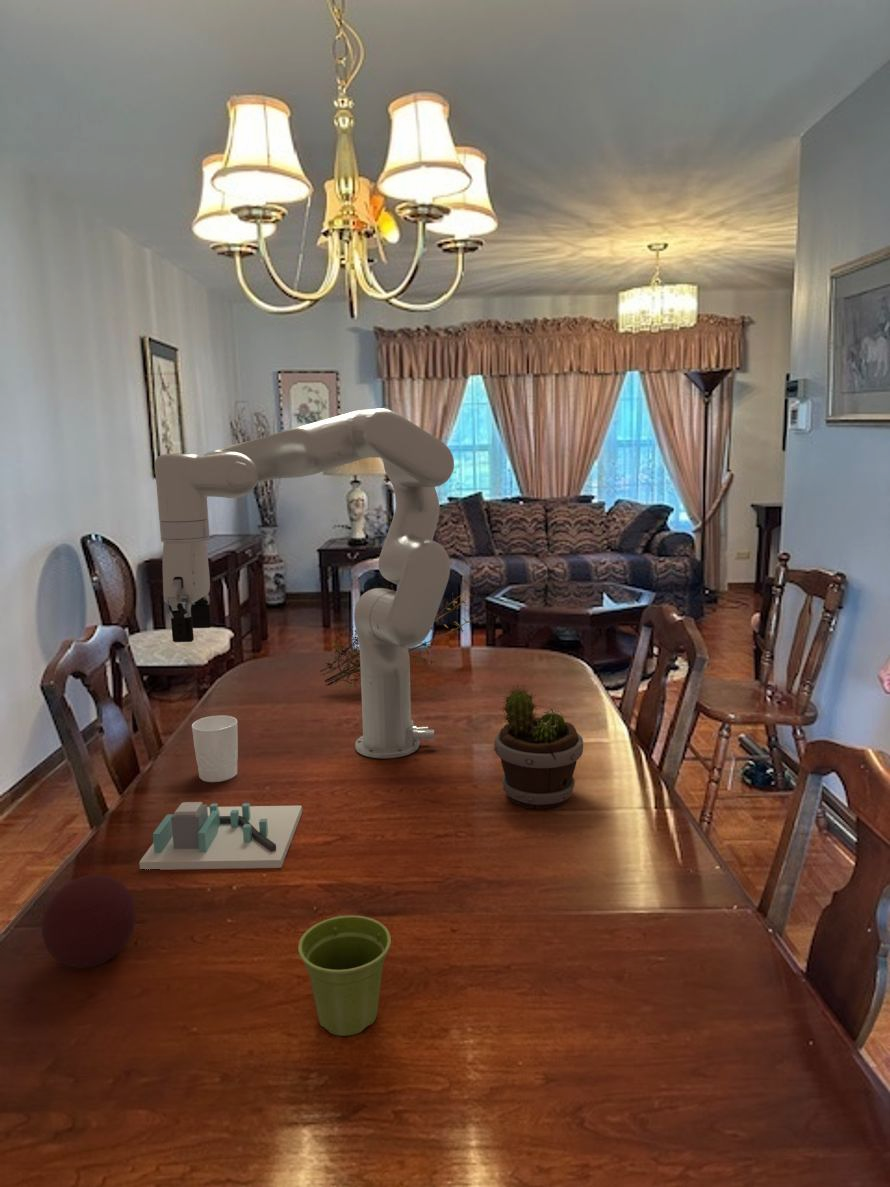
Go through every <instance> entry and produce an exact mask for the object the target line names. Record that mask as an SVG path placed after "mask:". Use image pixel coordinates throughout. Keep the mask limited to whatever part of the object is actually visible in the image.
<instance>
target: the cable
mask: <svg viewBox="0 0 890 1187" xmlns="http://www.w3.org/2000/svg"><path fill="white" fill-rule="evenodd" d="M220 824H231V817H230V816H220ZM239 824H240V825H241V826H242V827H243V826H244V824H250V823H249V822H248V821H247V820H246V819H245V818H244V817H241V816H239ZM251 830H252V838H253V839H255V840H256V841H257V842H259V843H260V844H261V845H263V846H264V847H265V848H266V849H268V850H269V851H270V852H273V851H276V844H275V843H273V842H272V841H270V840H269V839H268V838H266V837H265V836H264V835H262V834H261V833H260V832H258V831H257V830H256V829H255V828H254V827H253V826H252V825H251Z"/></svg>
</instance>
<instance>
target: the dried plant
mask: <svg viewBox="0 0 890 1187" xmlns="http://www.w3.org/2000/svg"><path fill="white" fill-rule="evenodd" d="M467 581H468V580H465V583H466V584H465V585H468V582H467ZM390 587H391V590H393V591H394V587H395V586H394V585H393V584H390ZM465 587H466V586H464V588H463V586H462V589H461V588H459V590H460V591H461V593H460V599H459V601H460V603H458V601H457V599H458V598H459V596H457V597H456V598H455V597H453V596H454V593H451V594H452V595H451V596H452V601H451V602H450V603H449V601H445V602H444V599H443V598H442V600H441V602H442V603H443V604H444V603H445V604H444V605H445V606H444V608H443V609H442V610H441V611H440V612H439V613H437V615H436V618H435V620H434V622H437V620H439V619H441V618H442V617H444V616H445V615H446V614H449V613H450V612H452V611H453V610H455V609H456V610H459V609H460V605H461V604H462V605H464V606H467V604H466V602H465V601H466V600H467V599H468V598H469V597H470V598H471V599H473V598H474V596H475V595H477V596H479V594H478V593H476V594H472V593H470V592H469V591H467V593H468V596H467V597H466V598H465V599H464V598H463V596H462V595H464V591H465V590H464V589H465ZM450 604H452V605H453V608H452V609H451V608H450V607H449V606H450ZM456 604H458V605H456ZM445 609H446V610H447V612H445V613H444V614H442V615H441V616H439V615H440V614H441V613H442V612H443V611H444V610H445ZM456 614H457V615H459V612H458V611H456ZM438 616H439V617H438ZM472 617H473V618H474V619H475V620H478V618H476V617H475V616H472ZM461 619H462V620H464V623H463V624H462V623H461V624H459V623H458V622H457V621H453V625H455V626H458V627H456V628H451V629H450V630H449V631H447V632H446V633H443V634H441V635H440V636H437V637H435V638H432V639H431V640H428V641H426V640H424V641H423V642H421V643H420V644H419V645H417V646H415V647H412V648H410V649H408V652H411V651H414V650H416V649H419V648H420V647H423V648H424V649H426V647H427V648H429V649H432V647H431V646H430V645H434V646H435V645H436V642H435V640H436V639H437V640H438V639H439V638H441V637H443V636H445V635H447V634H450V633H453V635H454V639H456V637H458V635H459V634H458V629H460V631H461V633H462V634H463V633H464V631H465V630H463V626H464V625H465V624H468V623H472V621H473V619H470V620H466V618H463V617H461ZM443 626H444V627H445V628H447V629H449V626H447V624H443ZM349 629H350V631H351V633H350V634H351V636H350V637H349V635H347V640H348V641H347V642H346V643H345V644H344V645H343V644H342V642H341V640H342V639H341V638H340V639H339V644H340V647H341V648H340V647H339V646H337V645H335V644H334V645H333V649H334V652H333V654H335V657H334V661H333V662H332V663H331V662H325V664H326V668H323V669H321V670H320V671H319V672H320V673H321V672H323V671H325V670H327V669H329V671H327V672H325V673H321V676H324V675H326V674H328V673H333V672H335V671H336V670H339V671H340V672H338V673H336V674H333V675H332V676H331V677H328V678H326V679H325V680H324V681H323V682H324V683H326V684H325V686H331V685H333V684H337V683H338V681H340V682H343V683H342V685H348V688H347V689H348V690H350V689H351V687H352V684H353V685H354V687H355V688H357V685H356V683H361V674H359V672H361V666H360V660H359V659H360V650H359V643H358V637H357V633H356V629H355V630H354V625H351V627H349ZM433 629H434V628H433V626H432V628H431V630H432V631H433ZM431 630H430V631H431ZM353 632H354V633H355V634H354V633H353ZM353 635H354V636H353ZM455 636H456V637H455ZM351 638H353V639H351ZM432 641H433V642H432ZM351 642H352V643H351ZM430 642H432V643H430ZM348 643H349V646H346V645H347V644H348ZM355 645H356V647H355ZM357 650H358V651H357ZM426 652H427V654H428V655H430V653H429V652H428V650H427V649H426ZM354 653H355V654H354ZM343 656H344V657H346V658H345V660H344V659H342V657H343ZM409 657H411V655H410V654H409ZM412 657H413V658H414V662H415V663H419V664H420V660H419V659H421V663H422V662H423V663H424V665H425V664H427V662H430V665H431V666H433V663H437V664H438V661H437V662H436V661H435V660H428V659H425V658H422V657H419V656H416V655H415V656H414V655H412ZM358 658H359V659H358ZM355 659H356V660H355ZM354 660H355V662H353V661H354ZM426 661H427V662H426ZM340 662H341V664H340ZM335 663H337V666H335V667H333V665H334V664H335ZM345 664H346V665H345ZM344 665H345V666H344ZM351 665H353V666H351ZM342 666H344V668H343V670H342V668H341V667H342ZM439 666H442V663H441V662H439ZM355 673H356V674H357V675H356V674H355ZM410 673H412V671H411V670H410ZM414 673H416V672H414V671H413V674H414ZM417 674H418V675H419V673H418V672H417ZM351 675H353V676H354V677H355V678H350V677H351ZM418 675H417V676H418ZM345 677H346V679H345ZM410 684H414V686H415V685H416V684H417V685H418V684H420V683H418V682H415V681H411V680H410ZM421 685H423V686H424V684H422V683H421ZM428 687H429V688H431V690H433V691H434V692H435V693H438V692H439V691H440V690H438V689H437V688H436V687H434V686H429V685H428ZM440 693H441V694H442V696H445V694H444V692H442V691H441V692H440Z"/></svg>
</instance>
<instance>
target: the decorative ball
mask: <svg viewBox="0 0 890 1187" xmlns="http://www.w3.org/2000/svg"><path fill="white" fill-rule="evenodd" d="M136 919H137V909H136V905H135V900H134V898H133V896H132V893H131V892H130V890H129V889H128V887H127V886H126V885H125V884H124V883H122V882H121V881H120V880H118V879H117V878H114V877H111V876H108V875H105V874H89V875H87V874H86V875H84V876H80V877H77V878H75V879H72V880H71V881H69V882H67V883H66V884H64V885H63V886H62V887H61V888H60V889H59V890H57V891H56V892H55V894H54V895H53V897H52V898H51V899H50V900H49V901H48V903H47V905H46V907H45V910H44V913H43V916H42V920H41V936H42V941H43V944H44V947H45V948H46V949H47V952H48V953H49V955H51V956H52V957H53V958H54V959H55V960H56V961H57V962H59V963H61V964H63V965H65V966H68V967H72V968H80V969H83V968H91V967H96V966H99V965H101V964H103V963H106V962H107V961H109V960H110V959H112V958H113V957H114V956H116V955H117V954H118V953H119V952H120V951H121V950H122V949H124V947H125V946H126V944H127V943H128V942H129V939H130V937H131V935H132V933H133V931H134V928H135V924H136Z"/></svg>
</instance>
